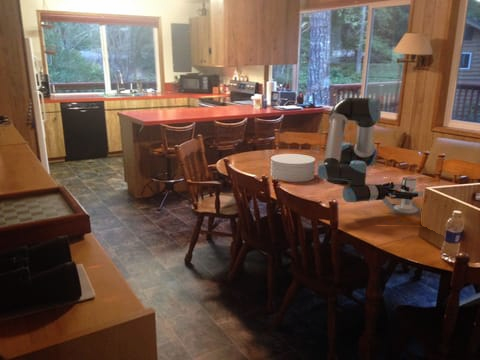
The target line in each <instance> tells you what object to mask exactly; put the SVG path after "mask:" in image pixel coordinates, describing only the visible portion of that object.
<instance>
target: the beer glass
mask: <svg viewBox="0 0 480 360" xmlns="http://www.w3.org/2000/svg"><path fill="white" fill-rule="evenodd" d="M417 184H418V180H417V178H414V177H409V176H408V177H407V176H406V177H405V176H404V177H402V180H401V189H400V191H402V192H409V193H410V192H415V191H417ZM414 198H415V197H414ZM414 198H413V200H410V199H401V204H400V209H403V210H412V209H413V206H412V203H414Z"/></svg>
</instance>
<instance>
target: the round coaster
mask: <svg viewBox="0 0 480 360" xmlns="http://www.w3.org/2000/svg"><path fill="white" fill-rule="evenodd" d="M394 210H396V211H398V212H401V213H408V214H407V215H413V214H412V213H417V212H418V209H417V208H416V207H414V206H413V209H412V210H403V209H400V204H399V205H395V206H394Z"/></svg>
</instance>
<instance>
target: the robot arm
mask: <svg viewBox="0 0 480 360" xmlns="http://www.w3.org/2000/svg"><path fill="white" fill-rule="evenodd" d="M381 105H382V104H381V100H380V99H379V98H375V97H374V98H373V97H345V98H342V99H341V100H339V101H338V102H337V103H336V104H335V105H334V106H333V107H332V109H331V111H330V113H329V116H328V122H329V128H328V133H327V140H326V147H325V153H324V159H323V162H319V164H318V168H317V176H318V178H319V179H324V180H325V181H326V182H329V183H331V184H340V185H341V184H343V185H345V184H348V186H347V185H346V186H345V187H343V189H342V194H341V195H342V198H343V200H344V201H345V202H346V203H360V202H368V203H369V202H370V201H382V200H383V199H384V198H386V197H391V199H395V198H396V199H410V200H413V201H414V199H413V198H423V196H424V190H418V191H417V190H416V191H415V192H410V193H409V192H402V191H401V183H402V182H401V183H394V182H393V181H391V182H387V183H384V184H380V183H379V184H367V185H366V179H367V178H366V177H367V169H368V168H367V167H374V166H375V164H376V162H377V161H376V160H377V154H378V148H377V147H376V146H374V144H373V143H374V142H373V139H374V128H375V127H374V126H375V125H376V124H377V122H380V120H381V113H382V110H381ZM349 121H353V122H354V123H355V124H356V127H357V128H356V143H355V145H352V143H351V142H346V141H345V142H344V137H345V129H346V125H347V124H348V122H349Z"/></svg>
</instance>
